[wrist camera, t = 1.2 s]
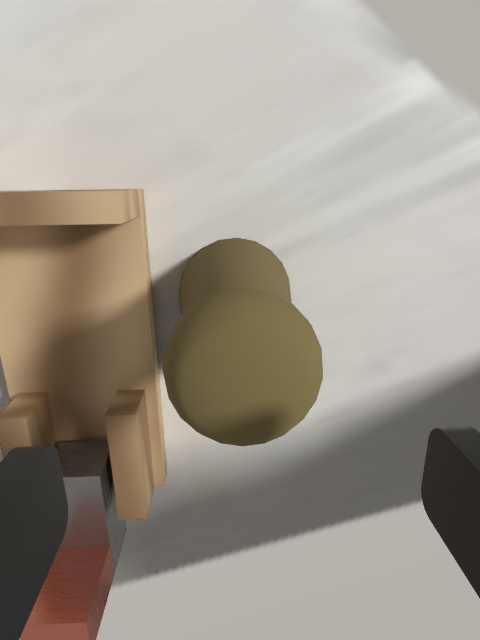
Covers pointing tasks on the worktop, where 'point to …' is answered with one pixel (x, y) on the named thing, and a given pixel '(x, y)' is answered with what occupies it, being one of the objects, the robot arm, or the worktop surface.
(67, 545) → the red grey l-shaped block
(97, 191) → the light brown wooden holder
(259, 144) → the worktop surface
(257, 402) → the olive rounded piece
